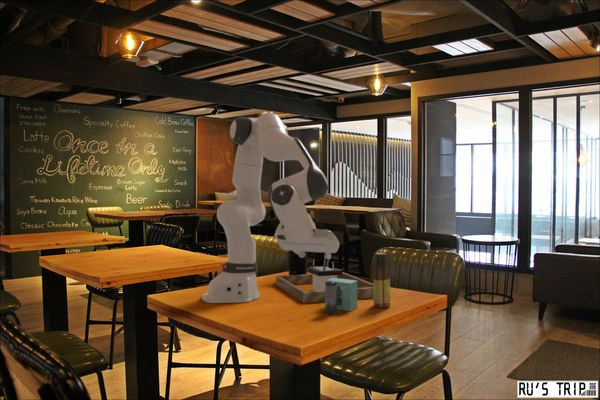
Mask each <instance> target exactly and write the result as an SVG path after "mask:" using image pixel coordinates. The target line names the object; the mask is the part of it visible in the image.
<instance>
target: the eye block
mask: <svg viewBox="0 0 600 400" xmlns="http://www.w3.org/2000/svg"><path fill="white" fill-rule="evenodd" d="M326 281H336V282H337V298H338V297H340V296H341V289H342V303H341V304H339V305H337V306H336V310H340V311H346V312H352V311H353V310H355V309H358V299H357V283H358V281H356V280H347V279H339V278H331V279H328V280H326Z"/></svg>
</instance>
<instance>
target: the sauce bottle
mask: <svg viewBox="0 0 600 400" xmlns="http://www.w3.org/2000/svg"><path fill="white" fill-rule="evenodd" d="M374 257H375V266H374V269H373V271H372V284H373V298H372V299H373V306H375V308H381V309H386V308H389V307H390V306H391V279H390V269H389V268H388V266H387V253H386V252H375V254H374Z"/></svg>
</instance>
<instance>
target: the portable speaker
mask: <svg viewBox="0 0 600 400" xmlns="http://www.w3.org/2000/svg"><path fill="white" fill-rule="evenodd" d="M304 252H305V257H304V258H303V257H299V255H298V254H296V253H295V252H293V251H291V250H288V275H305V274H308V252H307V251H304Z"/></svg>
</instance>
